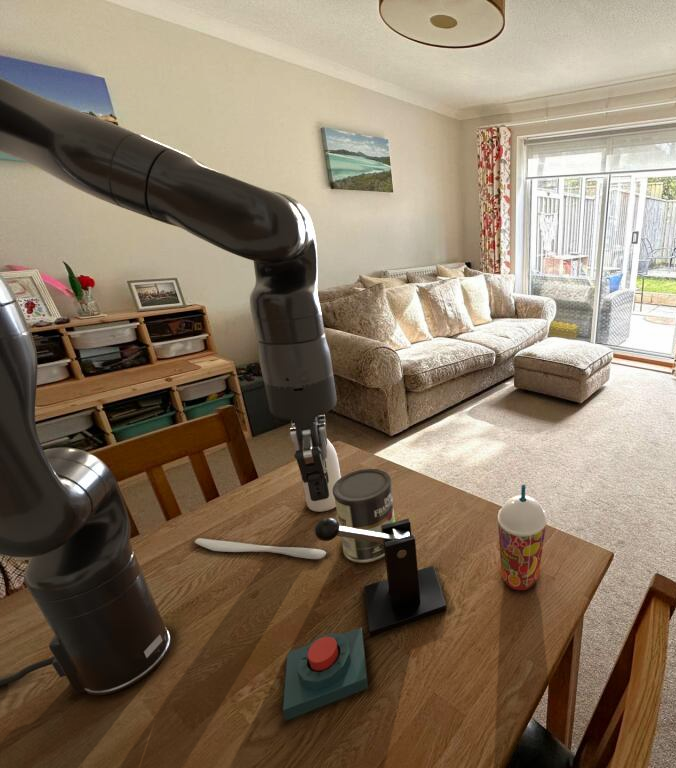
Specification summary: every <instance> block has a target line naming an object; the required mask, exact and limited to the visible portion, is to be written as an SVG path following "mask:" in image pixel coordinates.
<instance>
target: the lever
mask: <svg viewBox="0 0 676 768" xmlns="http://www.w3.org/2000/svg"><path fill="white" fill-rule="evenodd" d="M314 535H315V537H316V538H317V539H318V540H320V541H322V542H329V541H332V540H334V539H335V538H336V537H340V538H341V537H347V538H353V539H359V540H366V541H372V542H378V543H385V542H388V541H392V540H396V539H400V538H403V537H407V536H410V534H409V532H408V531H403V530H397V529H392V531H391V533H390V534H384V533H378V532H372V531H367V530H361V529H355V528H349V527H343V526H339V522H338V519H336V518H334V517H330V516H329V517H328V516H327V517H324V518H322V519H320V520H319V521H318V522H317V523H316V525H315V528H314Z"/></svg>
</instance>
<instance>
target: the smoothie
mask: <svg viewBox="0 0 676 768" xmlns="http://www.w3.org/2000/svg"><path fill="white" fill-rule="evenodd" d="M520 491H521V493H520V494H517V495H513V496H512V497H511V498H509V499H507V500H506V502H505V503H504V504H503V505H502V507H501V508H500V509H499V511H498V513H497V528H498V529H497V530H498V541H499V544H498V546H499V558H500V573H501V578H502V579H503V580H504V582H505V584H506V585H507V587H509V588H510V589H513V590H515V591H526V590H528V589H530V588H531V587H533V586H534V584H535V583H536V582H537V581H538V579H539V576H540V575H539V574H540V568H541V562H542V555H543V550H544V549H543V548H544V541H545V535H546V527H547V522H548V516H547V512H546V511H545V510H544V508H543V506H542V505H541V504H540V503H539V501H538V500H537V499H536V498H534V497H533V496H530V495H527V494H526V485H525V484H521V490H520Z"/></svg>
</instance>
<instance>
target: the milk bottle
mask: <svg viewBox="0 0 676 768" xmlns="http://www.w3.org/2000/svg"><path fill="white" fill-rule="evenodd" d="M326 447H327V458H326V459H325V460H326V466H327V471H328V477H329V482H328V489H329V497H328V498H327V499H323V500H318V501H312V500H311V497H310V492H309V487H308V482H306V483H304V482H303V480H302V475H301V472H300V471H299V472H300V476H301V477H300V479H301V483H302V488H303V493H304V497H305V502H306V507H307V508H308V509H309V510H311V511H313V512H327V511H330V510H333V509H336V504H335V497H334V495H333V486H334V484H335V483H336V482H337V481H338V480H339V479H340V478H341V477H342V476H341V470H340V463H339V459H338V454H337V451H336V448H335V447H334V445H333V444H332V442H331V441H330V440H329V439H328V438H327V445H326Z"/></svg>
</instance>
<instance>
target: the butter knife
mask: <svg viewBox="0 0 676 768" xmlns="http://www.w3.org/2000/svg"><path fill="white" fill-rule="evenodd" d="M194 544H196V545H198V546H201V547H203V548H204V549H208V550H210V551H213V552H227V553H245V552H246V553H247V552H255V553H256V552H258V553H259V552H260V553H261V552H263V553H264V552H267V553H274V554H281V555H286V556H290V557H295V558H301V559H302V558H303V559H307V560H308V559H310V560H320V559H324V558H325V557H326V555H327V552H326V550H323V549H319V548H311V547H310V548H308V547H291V546H289V547H288V546H272V545H260V544H253V543H247V542H246V543H244V542H236V541H229V540H228V541H227V540H220V539H219V540H217V539H210V538H209V539H208V538H202V537H201V538H200V537H198V538H197V539H195V540H194Z"/></svg>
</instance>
